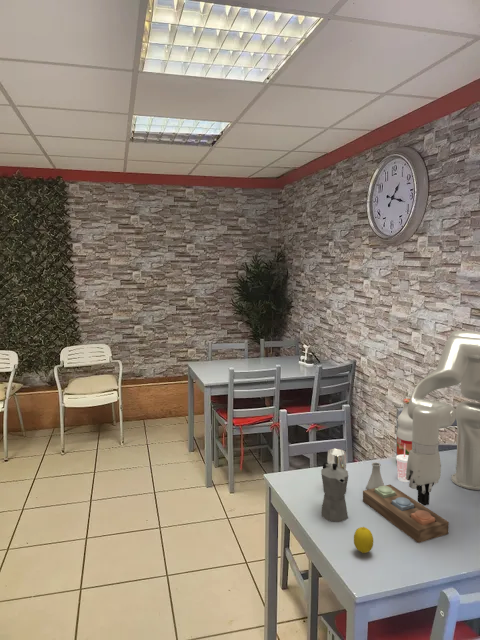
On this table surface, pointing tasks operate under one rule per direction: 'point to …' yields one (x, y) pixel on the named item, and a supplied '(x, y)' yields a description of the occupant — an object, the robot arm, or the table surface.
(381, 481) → the flask
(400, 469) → the beverage cup
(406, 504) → the slate blue button
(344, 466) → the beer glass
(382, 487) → the sage green button
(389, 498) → the button panel
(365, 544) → the lemon
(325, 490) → the coffeepot
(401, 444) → the fruit juice
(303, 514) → the table surface
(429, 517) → the terracotta button
